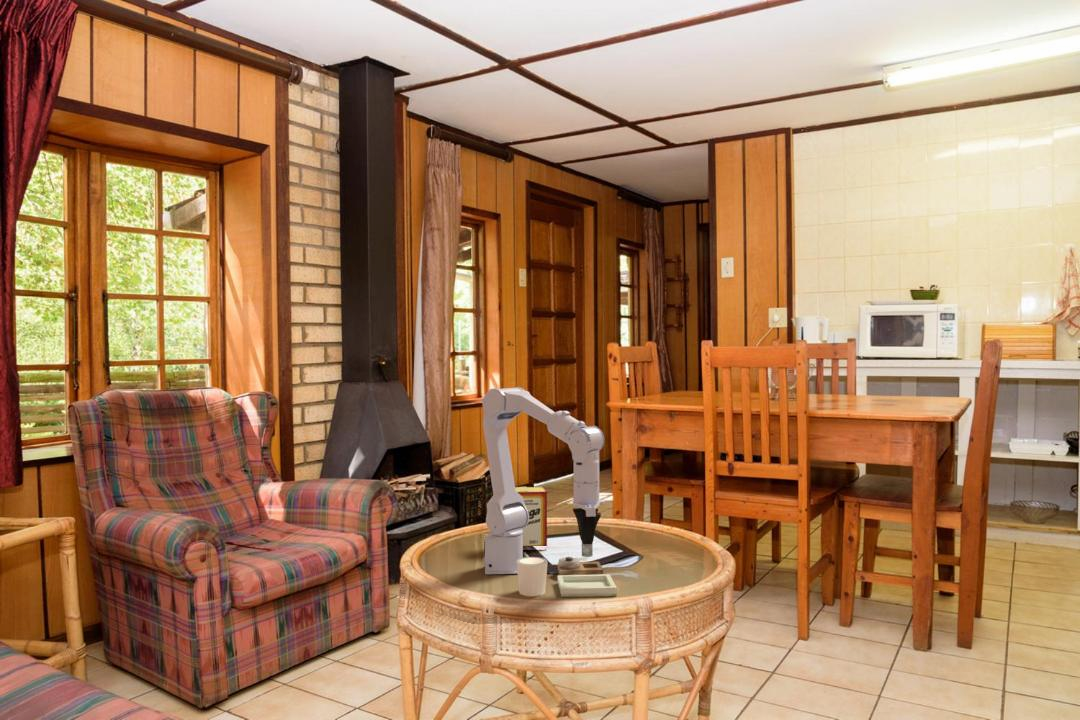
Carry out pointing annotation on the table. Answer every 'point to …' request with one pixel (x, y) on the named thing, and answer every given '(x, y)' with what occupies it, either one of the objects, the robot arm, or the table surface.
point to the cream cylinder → (532, 575)
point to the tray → (586, 585)
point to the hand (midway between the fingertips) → (586, 542)
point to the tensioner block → (578, 567)
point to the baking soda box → (535, 515)
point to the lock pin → (587, 550)
